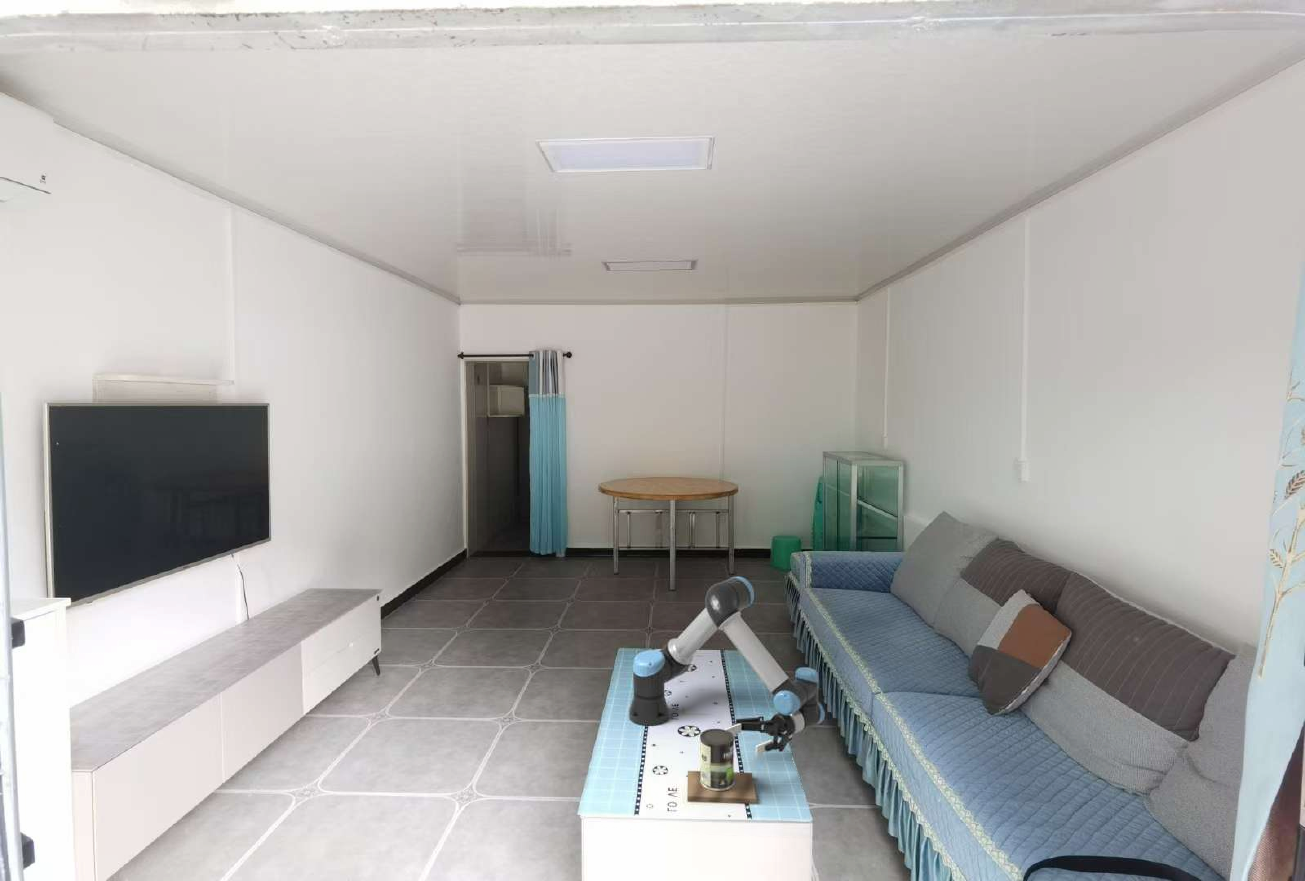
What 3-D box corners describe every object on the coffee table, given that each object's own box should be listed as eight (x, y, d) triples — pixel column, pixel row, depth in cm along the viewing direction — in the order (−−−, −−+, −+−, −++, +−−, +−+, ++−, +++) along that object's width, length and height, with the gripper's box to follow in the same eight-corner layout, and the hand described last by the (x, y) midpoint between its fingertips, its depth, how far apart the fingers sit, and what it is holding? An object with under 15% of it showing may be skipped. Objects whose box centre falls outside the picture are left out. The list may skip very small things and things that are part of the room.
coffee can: (739, 778, 199) (739, 733, 199) (725, 795, 190) (724, 747, 190) (709, 769, 204) (709, 725, 204) (694, 785, 196) (693, 738, 195)
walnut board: (687, 801, 190) (687, 796, 190) (687, 775, 204) (687, 770, 204) (756, 803, 189) (756, 798, 189) (752, 777, 203) (752, 772, 203)
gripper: (816, 749, 205) (770, 771, 193) (759, 720, 225) (713, 737, 213) (817, 726, 205) (770, 746, 193) (759, 699, 225) (714, 715, 213)
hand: (740, 741), depth 203 cm, fingers open, 13 cm apart
